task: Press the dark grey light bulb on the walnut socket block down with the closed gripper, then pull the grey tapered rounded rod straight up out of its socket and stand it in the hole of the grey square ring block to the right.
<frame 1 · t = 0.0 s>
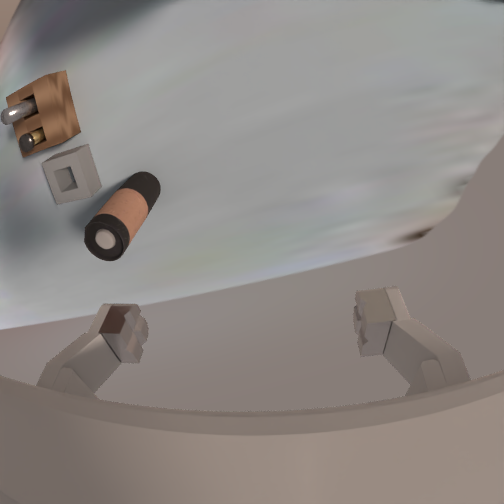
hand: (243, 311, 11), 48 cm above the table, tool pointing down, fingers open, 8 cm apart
grey square ring block: (77, 170, 59), on the table
travel mug: (144, 186, 61), on the table
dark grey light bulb: (37, 136, 47), point 7 cm above the table, slide at 0.0 cm
grey tapered rounded rod: (49, 99, 49), resting in socket block
socket block: (51, 109, 50), on the table
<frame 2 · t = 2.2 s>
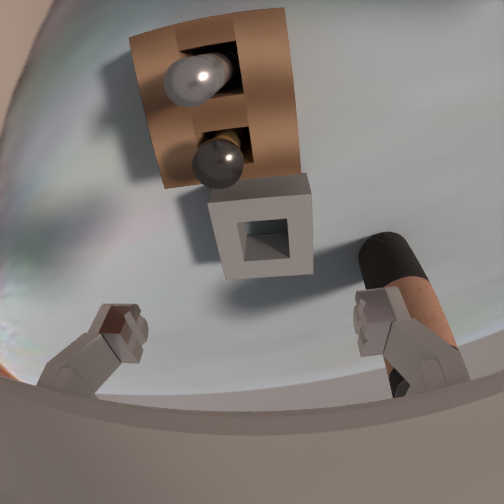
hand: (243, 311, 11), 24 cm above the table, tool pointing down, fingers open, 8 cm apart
grey square ring block: (265, 215, 36), on the table
travel mug: (383, 252, 39), on the table
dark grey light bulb: (224, 148, 25), point 7 cm above the table, slide at 0.0 cm
grey tapered rounded rod: (223, 65, 26), resting in socket block
socket block: (227, 89, 28), on the table
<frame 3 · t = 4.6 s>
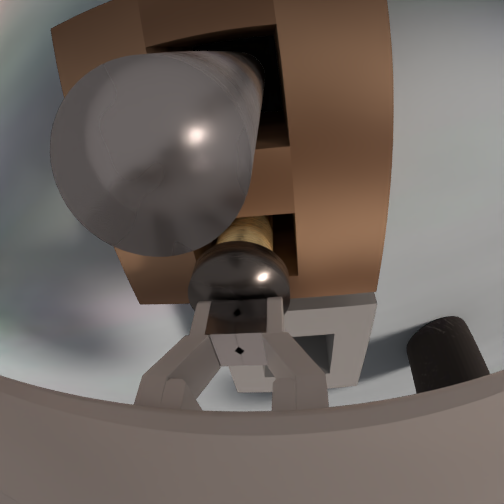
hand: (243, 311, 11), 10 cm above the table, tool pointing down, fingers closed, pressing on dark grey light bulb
grey square ring block: (294, 307, 25), on the table
travel mug: (436, 337, 28), on the table
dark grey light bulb: (246, 235, 14), point 6 cm above the table, slide at 1.1 cm, touching gripper
grey tapered rounded rod: (237, 77, 15), resting in socket block
socket block: (243, 119, 17), on the table
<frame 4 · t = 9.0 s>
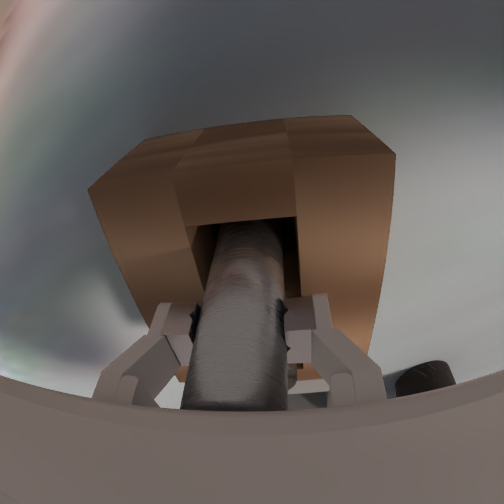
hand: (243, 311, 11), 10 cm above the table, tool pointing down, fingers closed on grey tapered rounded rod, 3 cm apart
grey square ring block: (298, 361, 29), on the table
travel mug: (421, 376, 31), on the table
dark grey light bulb: (264, 325, 19), point 5 cm above the table, slide at 2.4 cm
grey tapered rounded rod: (254, 194, 19), resting in socket block, touching gripper
socket block: (259, 229, 20), on the table
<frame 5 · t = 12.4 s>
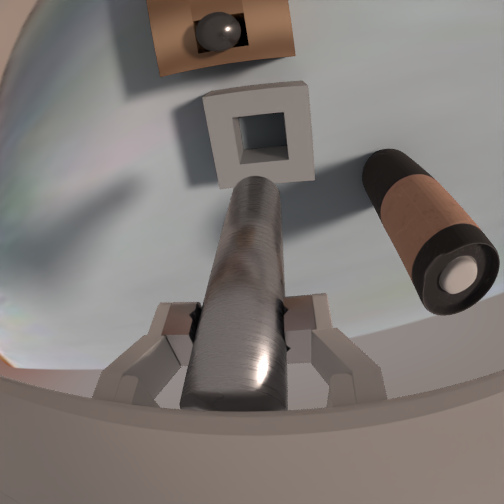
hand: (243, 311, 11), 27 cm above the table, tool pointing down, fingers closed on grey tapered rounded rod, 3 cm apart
grey square ring block: (262, 126, 33), on the table
travel mug: (387, 174, 36), on the table
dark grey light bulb: (224, 34, 24), point 5 cm above the table, slide at 2.4 cm
grey tapered rounded rod: (255, 198, 19), point 18 cm above the table, touching gripper
socket block: (224, 4, 25), on the table
when the fingers open (12 cm above the table, at t = 15.7 s): grey tapered rounded rod drops 2 cm, resting in grey square ring block.
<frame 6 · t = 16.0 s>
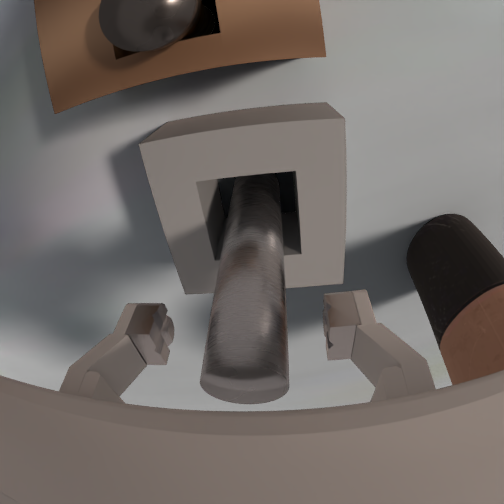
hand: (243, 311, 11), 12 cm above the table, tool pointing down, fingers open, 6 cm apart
grey square ring block: (255, 182, 21), on the table
travel mug: (441, 248, 23), on the table
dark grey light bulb: (175, 15, 11), point 5 cm above the table, slide at 2.4 cm
grey tapered rounded rod: (256, 186, 21), resting in grey square ring block
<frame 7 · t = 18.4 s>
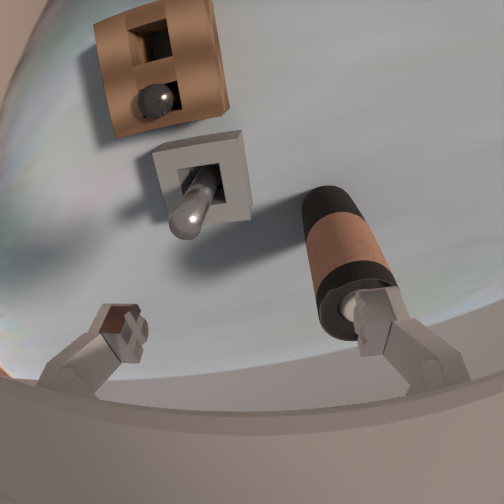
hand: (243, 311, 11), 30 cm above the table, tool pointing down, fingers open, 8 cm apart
grey square ring block: (209, 172, 40), on the table
travel mug: (327, 208, 42), on the table
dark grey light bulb: (166, 97, 30), point 5 cm above the table, slide at 2.4 cm
grey tapered rounded rod: (209, 174, 40), resting in grey square ring block
socket block: (172, 64, 32), on the table
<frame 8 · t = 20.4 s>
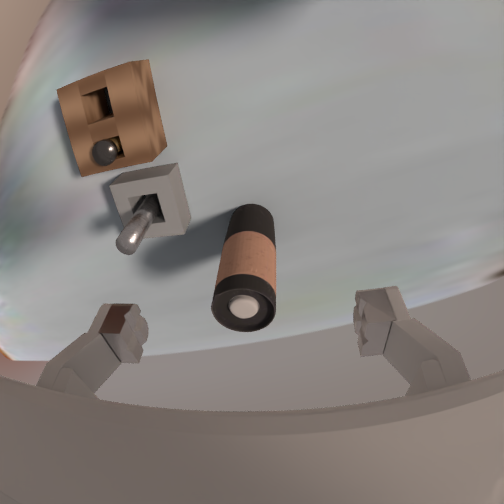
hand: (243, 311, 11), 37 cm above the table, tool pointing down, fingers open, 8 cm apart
grey square ring block: (156, 195, 50), on the table
travel mug: (252, 222, 52), on the table
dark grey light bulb: (115, 144, 40), point 5 cm above the table, slide at 2.4 cm
grey tapered rounded rod: (157, 197, 50), resting in grey square ring block
socket block: (122, 112, 41), on the table
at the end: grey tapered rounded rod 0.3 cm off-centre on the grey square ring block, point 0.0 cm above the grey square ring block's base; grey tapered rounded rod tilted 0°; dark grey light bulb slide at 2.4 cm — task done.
